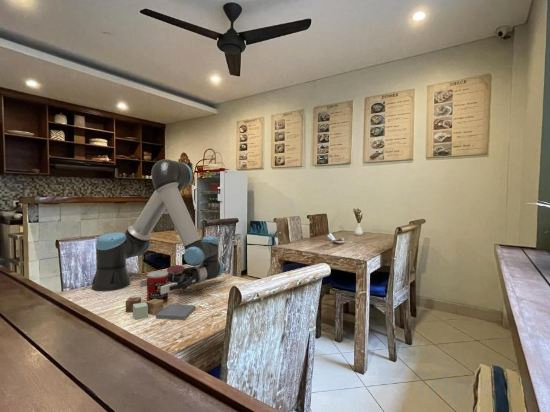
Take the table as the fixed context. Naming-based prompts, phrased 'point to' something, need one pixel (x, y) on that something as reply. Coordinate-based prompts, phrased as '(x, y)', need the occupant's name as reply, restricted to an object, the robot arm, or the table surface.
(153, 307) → the teak block
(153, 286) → the canned food
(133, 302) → the walnut block
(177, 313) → the plate
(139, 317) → the sage painted block
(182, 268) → the cupcake
